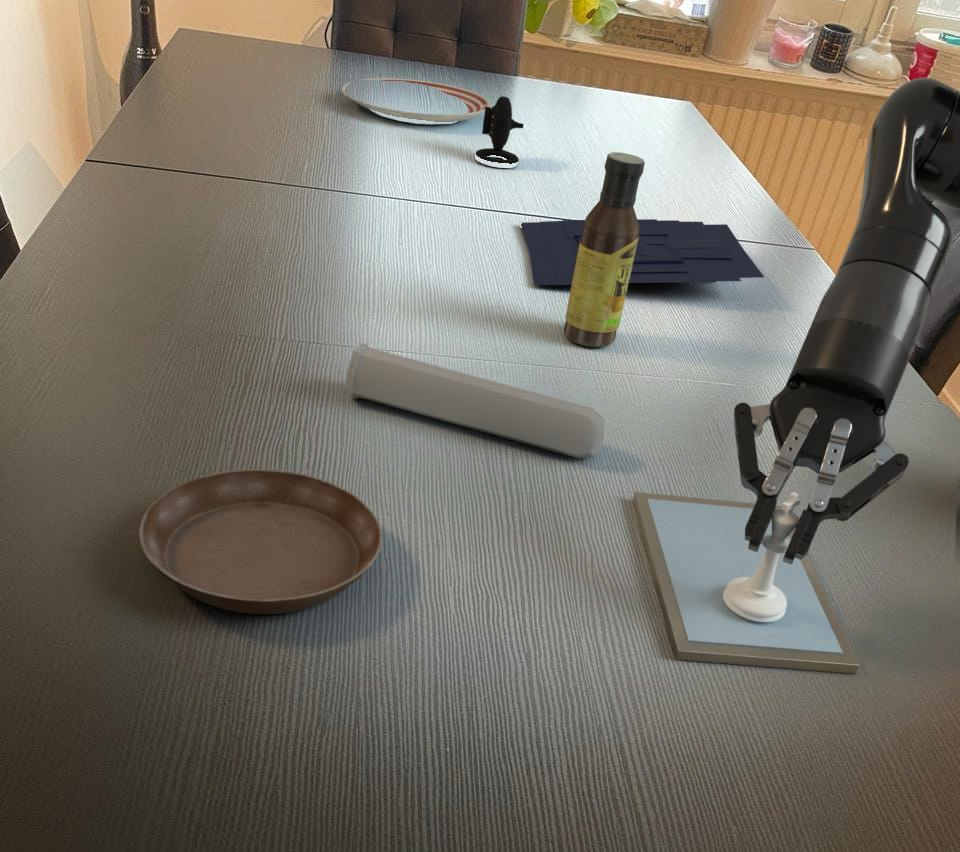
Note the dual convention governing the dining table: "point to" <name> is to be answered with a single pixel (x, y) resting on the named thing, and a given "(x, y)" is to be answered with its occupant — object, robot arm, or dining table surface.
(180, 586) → the plant saucer
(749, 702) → the dining table surface
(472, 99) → the dinner plate
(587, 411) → the tube
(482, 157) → the webcam
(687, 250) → the papers
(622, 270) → the sauce bottle
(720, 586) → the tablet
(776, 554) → the chess piece
